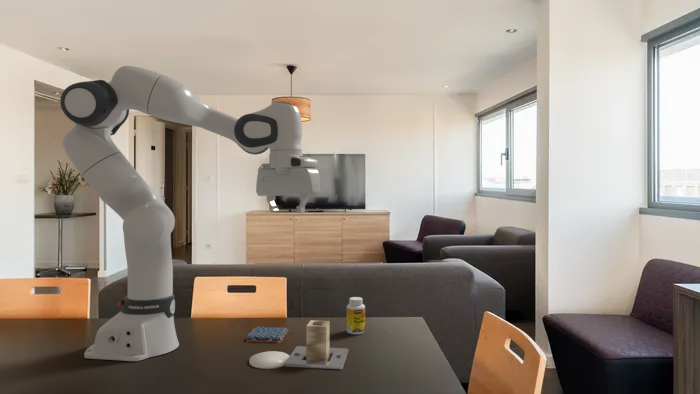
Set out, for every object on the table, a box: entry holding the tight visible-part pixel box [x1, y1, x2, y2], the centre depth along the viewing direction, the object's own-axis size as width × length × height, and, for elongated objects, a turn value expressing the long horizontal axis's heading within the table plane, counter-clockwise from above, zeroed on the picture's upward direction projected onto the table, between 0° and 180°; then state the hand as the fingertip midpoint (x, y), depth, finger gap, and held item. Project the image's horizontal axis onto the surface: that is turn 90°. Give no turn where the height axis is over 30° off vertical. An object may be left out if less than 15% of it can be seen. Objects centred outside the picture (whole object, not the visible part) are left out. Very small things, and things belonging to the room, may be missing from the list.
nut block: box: [305, 319, 331, 361], centre depth 112 cm, size 5×5×9 cm
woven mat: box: [246, 325, 290, 343], centre depth 129 cm, size 10×11×2 cm
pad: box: [248, 350, 290, 370], centre depth 110 cm, size 10×10×1 cm
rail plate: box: [284, 345, 349, 370], centre depth 112 cm, size 14×12×1 cm
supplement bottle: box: [346, 296, 366, 335], centre depth 133 cm, size 6×6×10 cm
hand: (287, 212), depth 121 cm, fingers open, 8 cm apart
